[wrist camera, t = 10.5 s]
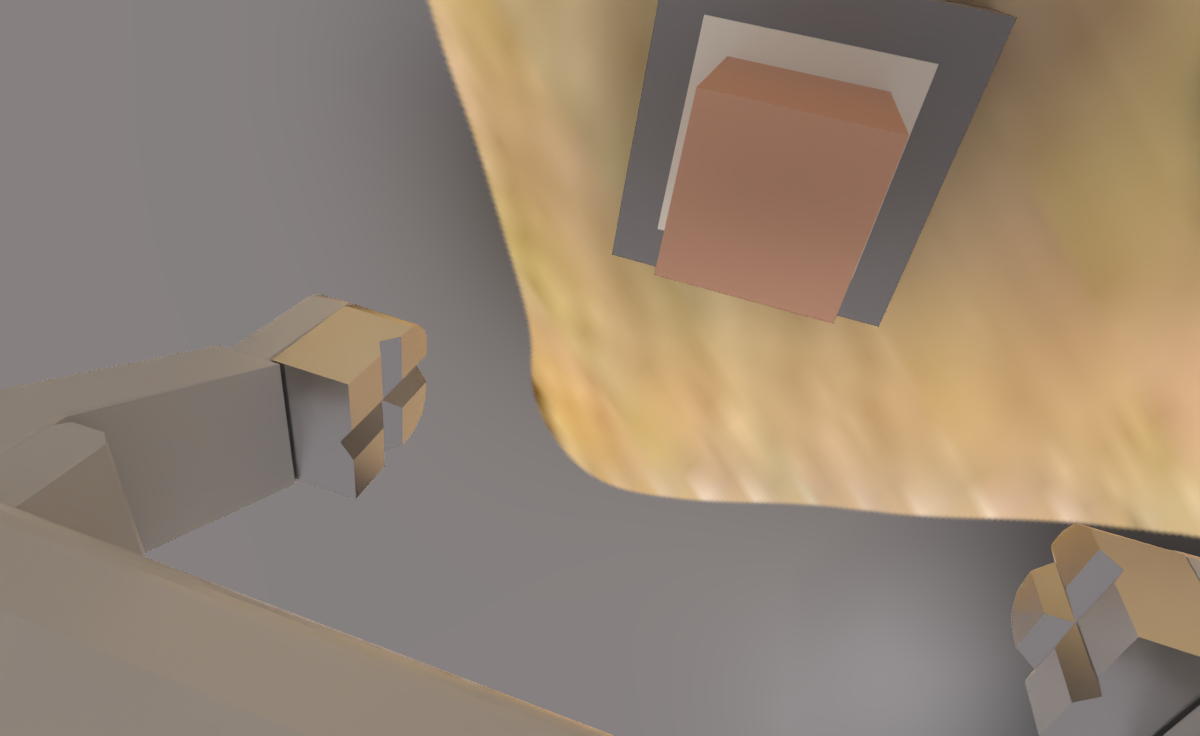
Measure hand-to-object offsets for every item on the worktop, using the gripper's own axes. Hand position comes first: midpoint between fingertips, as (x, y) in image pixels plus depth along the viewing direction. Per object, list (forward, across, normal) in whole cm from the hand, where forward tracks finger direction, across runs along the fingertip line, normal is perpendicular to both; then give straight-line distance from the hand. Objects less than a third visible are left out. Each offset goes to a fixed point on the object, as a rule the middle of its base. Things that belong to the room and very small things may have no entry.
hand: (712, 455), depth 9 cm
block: (+16, 0, 0) cm, 16 cm away
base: (+20, 0, 0) cm, 20 cm away
